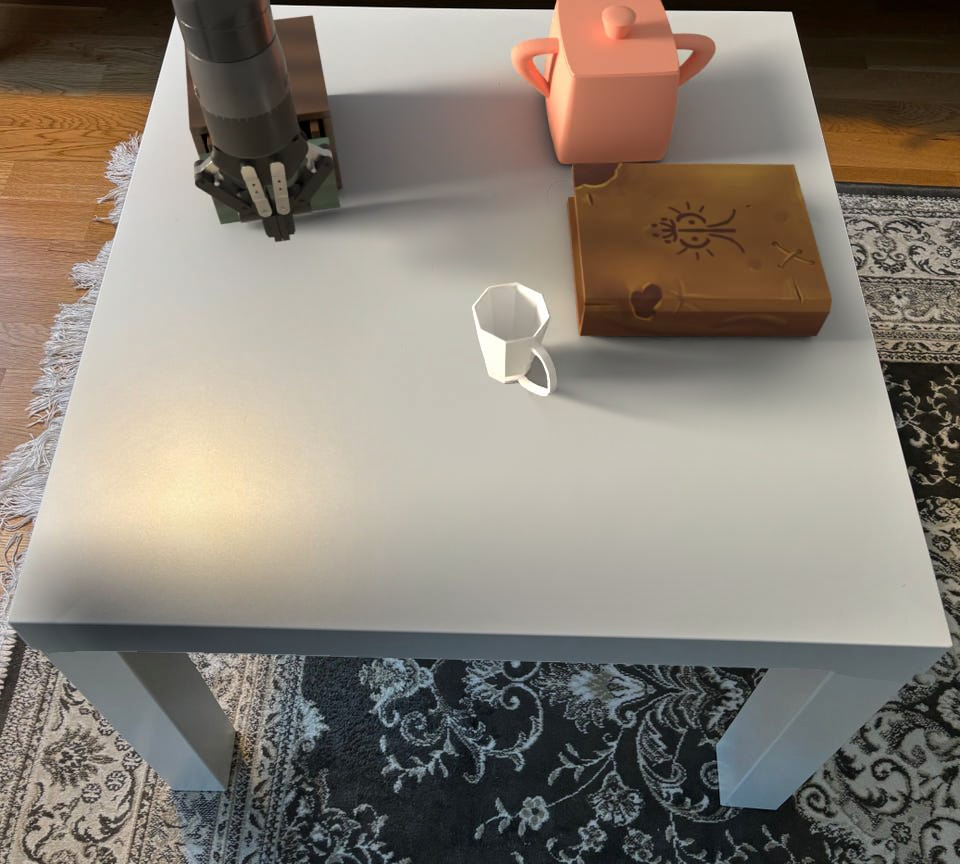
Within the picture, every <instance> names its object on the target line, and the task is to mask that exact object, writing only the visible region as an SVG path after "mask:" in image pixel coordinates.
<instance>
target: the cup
mask: <svg viewBox="0 0 960 864" xmlns="http://www.w3.org/2000/svg"><path fill="white" fill-rule="evenodd" d="M471 309H472V314H473V318H474V322H475V328H476V331H477V337H478V341H479V345H480V348H481V351H482V355H483V358H484V361H485V365H486V368H487V372H488V375H489V377H491V378H493V379H495V380H496V381H499V382H500V383H503V384H505V385H506V384H510V383H515V382H518V383H519V384H520V386H522V387H523V388H524V389H526V390H527V391H529V392H531V393H534V394H536V395H539V396H541V397H542V396H543V397H547V396H549V395H551V394H552V393H553V392H554V391H555V390H556V389H557V385H558V384H557V381H558V379H557V371H556V368H555V366H554V363H553V362H554V361H553V359H552V357H551V356H550V354H549V353H548V351H546V349H545V348H544V347H543V346H542V342H543V340H544V337H545V334H546V332H547V329H548V326H549V324H550V321H551V318H552V316H551V313H550V311H549V309H548V305H547V302H546V299H545V297H544V294H543V293H541V292H539V291H537V290H534V289H533V288H530V287H528V286H527V285H524V284H522V283H520V282H519V281H515V282H509V283H503V284H497V285H492V286H487V288H485V290H484V291H483V292H482V294H481V295H480V296H479V297H478V298H477V300H476V301H475V303H473V305H472V306H471ZM536 356H537V358H539V360H540V361H541V363H542V365H543V368H544V371H545V373H546V378H547V388H546V387H543V386H540V385H537V384H536V383H534V382H533V381H530V380H529V379H528V377H526V376H527V374H528V373H529V371H530V370H531V368H532V362H533V361H534V359H535V358H536Z"/></svg>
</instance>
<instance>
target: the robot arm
mask: <svg viewBox="0 0 960 864" xmlns="http://www.w3.org/2000/svg"><path fill="white" fill-rule="evenodd" d="M171 3H172V8H173V11H174V14H175V17H176V21H177V23H178V27H179V31H180V33H181V37H182V40H183V43H185V45H184V48H185V47H186V51H187V58H188V64H189V69H190V73H191V77H192V80H193V88H194V91H195V93H196V96H197V97H198V99H199V102H200V105H201V108H202V112H203V115H204V118H205V121H206V124H207V128H208V131H209V134H210V137H211V140H212V143H211V146H210V152H211V155H210V156H209V157H208V158H207V159H206V160H205V161H204V160H200V159H197V160H196V161H194V162H193V177H194V185H195V187H196V188H198V189H199V190H201V191H202V192H204V193H206V194H207V195H209V196H210V197H211V196H212V197H214V198H216V199H217V200H219V201H221V202H222V203H224V204H225V205H227V206H229V207H230V208H232V209H234V210H235V211H237V212H239V213H240V214H242V215H247V214H249V213H251V212H257V213H259V215H260V216H261V218H262V220H261V222H262V224H263V228H264V233H265V235H266V236H267V237H268V238H269V239H270V238H274V242H275V243H280V242H288V241H291V235H295V233H296V225H295V218H294V217H295V216H293V213H292V208H293V207H295V206H299V207H304V206H306V205H307V204H308V203H309V201H310V200H311V198H312V197H313V196H314V194H315V193H316V192H317V190H318V189H319V188H320V186H321V185H322V184H323V182H324V181H325V179H326V178H327V177H328V175H329V174H330V173H331V171H332V170H333V168H334V163H333V157H332V151H331V147H330V145H329V144H326V143H323V144H320V145H319V146H316V145H314V144H311V143H309V142H307V136H306V134H305V133H304V132H303V131H302V130H301V129H300V127H299V125H298V120H297V115H296V110H295V105H294V100H293V96H292V91H291V86H290V78H289V74H288V71H287V66H286V61H285V57H284V53H283V49H282V46H281V44H280V41H279V39H278V36H277V33H276V29H275V25H274V20H275V19H274V16H273V11H272V6H271V1H270V0H171ZM305 157H306V158H305ZM304 158H305V160H306V165H305V166H304V167H303V169H302V170H301V172H300V173H299V174H298V176H297V177H296V179H295V180H294V182H293V185H292V186H289V187H287V183H286V181H288V180H289V179H291V178H292V177H293V175H294V174H295V172H296V170H297V169H298V167H299V166H300V164H301V163H302V161H303V159H304ZM223 171H224V172H225V173H226V174H228V175H229V176H231V177H232V178H234V179H235V180H237V181H238V182H239V183H238V182H237V181H235V180H234V179H232V178H231V177H229V176H228V175H226V174H224V173H223ZM240 183H241V184H243V185H245V186H247V187H248V188H246V187H245V186H243V185H241V184H240ZM267 185H273V188H274V195H275V202H274V199H272V200H271V196H270V193H269V190H268V187H267ZM212 197H211V198H212Z"/></svg>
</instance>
